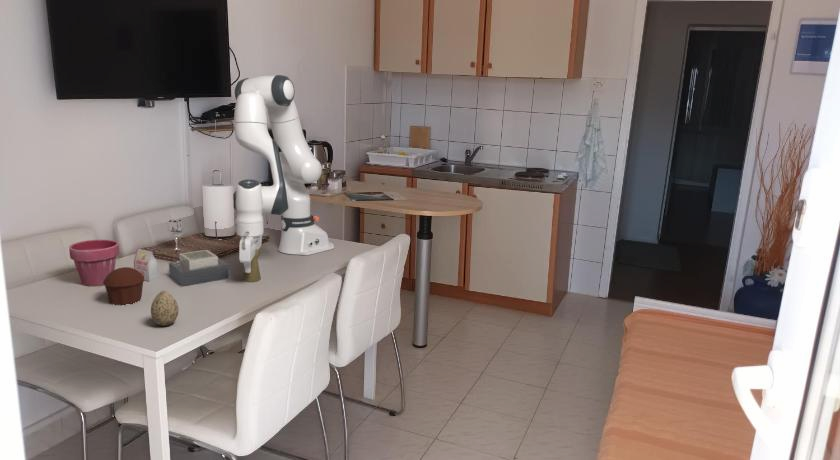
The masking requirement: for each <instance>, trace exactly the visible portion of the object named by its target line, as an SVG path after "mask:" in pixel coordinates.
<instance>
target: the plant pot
mask: <svg viewBox="0 0 840 460" xmlns="http://www.w3.org/2000/svg"><path fill="white" fill-rule="evenodd" d="M68 248H69V250H68V251H69V257H70V259H71V260H72V261H74V266H75V269H76V271H77V274H78V277H79V279H80V282H81V284H82V285H84V286H87V287H97V286H98V287H99V286H105V285H104V284H103V282H104V280H105V278H106V277H107V275H108V274H109V273H111V272H112V271H114V270H115V268H116V263H117V262H116V261H117V257H118V256H119V254H120V248H119V243H118V241H117V240H113V239H88V240H82V241H78V242H75V243H72V244H71V245H69V247H68Z"/></svg>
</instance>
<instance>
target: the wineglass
mask: <svg viewBox="0 0 840 460" xmlns="http://www.w3.org/2000/svg"><path fill="white" fill-rule="evenodd" d="M184 231H185V229H184V224H183V220H181V219H179V218H178V219H170V220H168V222H167V233H168V235H169V236H170V237H173V238H174V241H175V248H174V250H180V249H181V248H178V240H179V239H178V237H179V238H180V236H182V235H183V234H184Z"/></svg>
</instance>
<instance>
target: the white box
mask: <svg viewBox="0 0 840 460" xmlns="http://www.w3.org/2000/svg"><path fill="white" fill-rule="evenodd" d="M133 269H135V270H137V271H139V272H140V273H141V274H142V275H143V276H144V282H148V283H150V282H153V281H157V280H159V272H158V271H159V269H158V262H157V260H156V258H155V256H154V253H153V251H149V250H145V249H141V248H137V249H136V253H135V256H134V259H133Z"/></svg>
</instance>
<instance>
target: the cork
mask: <svg viewBox="0 0 840 460" xmlns="http://www.w3.org/2000/svg"><path fill="white" fill-rule="evenodd" d="M259 256H260V252H259V250H258V249H256V250H255V256H254V258H253V259H252V261H251V272H250V273H246V272H245V266H244V265H243V273H242V281H243V282H245V283H257V282H259V281H261V279H262V277H261V271H260V266H259V261H258V258H259Z"/></svg>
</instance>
